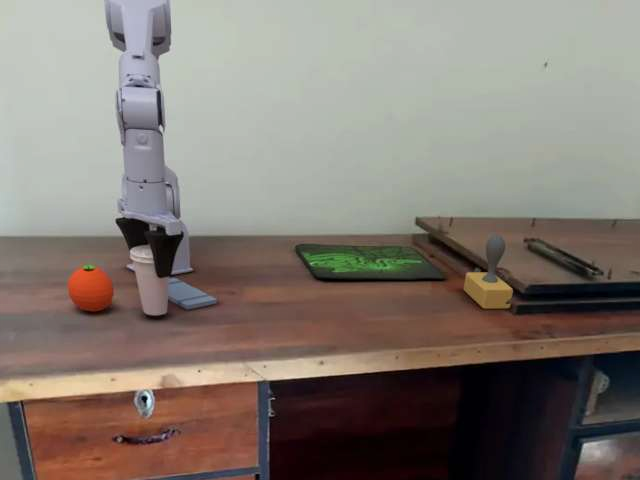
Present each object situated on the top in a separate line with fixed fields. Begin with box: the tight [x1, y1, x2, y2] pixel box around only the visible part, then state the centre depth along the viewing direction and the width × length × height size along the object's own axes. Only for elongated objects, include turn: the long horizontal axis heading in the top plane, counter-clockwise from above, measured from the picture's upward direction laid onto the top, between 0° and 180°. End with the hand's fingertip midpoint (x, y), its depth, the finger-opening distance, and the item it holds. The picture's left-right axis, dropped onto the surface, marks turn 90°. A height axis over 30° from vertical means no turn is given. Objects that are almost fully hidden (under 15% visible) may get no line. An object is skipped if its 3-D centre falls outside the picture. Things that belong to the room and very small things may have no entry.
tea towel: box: [168, 277, 218, 311], centre depth 134 cm, size 6×13×1 cm, turn 45°
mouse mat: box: [294, 243, 447, 281], centre depth 159 cm, size 27×22×1 cm
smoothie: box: [129, 224, 170, 316], centre depth 121 cm, size 6×6×14 cm
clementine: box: [67, 264, 115, 313], centre depth 124 cm, size 8×7×7 cm
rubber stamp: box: [463, 234, 514, 309], centre depth 144 cm, size 10×6×12 cm, turn 16°
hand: (152, 270), depth 121 cm, fingers closed on smoothie, 6 cm apart
